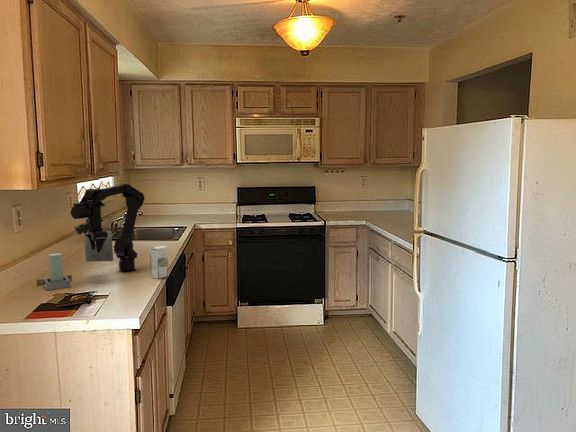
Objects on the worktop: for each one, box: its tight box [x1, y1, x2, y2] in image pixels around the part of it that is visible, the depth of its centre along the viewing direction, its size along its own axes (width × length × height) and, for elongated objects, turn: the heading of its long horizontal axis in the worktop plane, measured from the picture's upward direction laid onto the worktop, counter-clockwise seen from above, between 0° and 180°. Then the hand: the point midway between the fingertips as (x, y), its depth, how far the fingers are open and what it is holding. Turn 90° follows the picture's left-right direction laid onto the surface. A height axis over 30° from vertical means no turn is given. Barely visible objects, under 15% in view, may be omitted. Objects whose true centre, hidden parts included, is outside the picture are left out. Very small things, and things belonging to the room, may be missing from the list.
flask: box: [83, 230, 114, 262], centre depth 257 cm, size 4×14×18 cm, turn 93°
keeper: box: [43, 275, 71, 291], centre depth 207 cm, size 9×9×3 cm
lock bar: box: [47, 252, 64, 282], centre depth 206 cm, size 4×4×14 cm
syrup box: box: [149, 244, 169, 280], centre depth 221 cm, size 6×6×14 cm
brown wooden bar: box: [36, 274, 73, 287], centre depth 213 cm, size 14×2×2 cm, turn 125°
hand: (95, 251), depth 217 cm, fingers open, 9 cm apart
